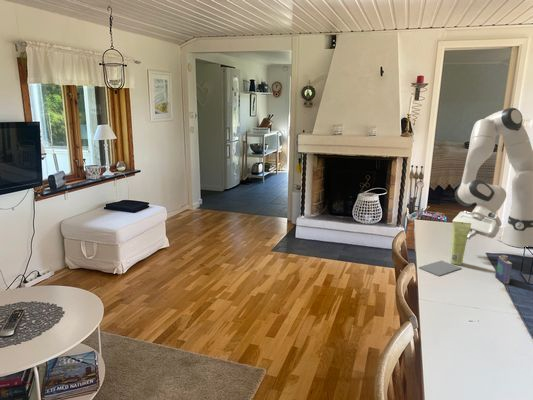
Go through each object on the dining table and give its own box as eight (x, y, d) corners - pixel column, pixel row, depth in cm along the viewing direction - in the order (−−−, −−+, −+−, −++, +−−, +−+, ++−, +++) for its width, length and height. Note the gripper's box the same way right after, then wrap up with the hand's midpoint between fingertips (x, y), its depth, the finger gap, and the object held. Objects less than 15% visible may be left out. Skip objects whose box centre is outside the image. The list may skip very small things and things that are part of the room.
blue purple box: (510, 284, 161) (514, 259, 158) (502, 284, 161) (506, 259, 159) (500, 275, 170) (504, 251, 167) (493, 275, 170) (496, 251, 168)
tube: (457, 260, 186) (462, 219, 181) (465, 264, 181) (471, 222, 177) (447, 261, 184) (452, 220, 179) (456, 265, 179) (461, 224, 175)
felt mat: (441, 261, 184) (441, 260, 184) (461, 268, 176) (461, 267, 176) (418, 268, 176) (418, 267, 176) (438, 276, 168) (438, 275, 168)
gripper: (459, 206, 195) (443, 227, 193) (501, 217, 178) (484, 240, 176) (464, 213, 198) (448, 235, 196) (505, 225, 181) (488, 248, 179)
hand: (465, 238), depth 186 cm, fingers closed
